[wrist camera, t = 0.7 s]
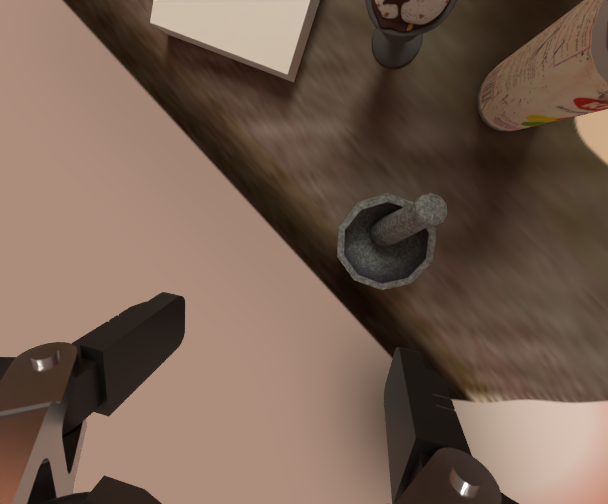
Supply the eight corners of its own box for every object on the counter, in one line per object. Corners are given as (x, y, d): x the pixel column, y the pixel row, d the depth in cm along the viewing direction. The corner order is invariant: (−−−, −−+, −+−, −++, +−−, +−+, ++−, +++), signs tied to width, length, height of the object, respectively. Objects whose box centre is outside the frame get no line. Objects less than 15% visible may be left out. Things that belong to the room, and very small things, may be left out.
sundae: (429, 73, 30) (487, -8, 16) (362, 79, 32) (363, 8, 17) (435, -3, 29) (507, -170, 14) (364, 6, 30) (367, -139, 16)
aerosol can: (484, 142, 31) (673, 103, 12) (470, 74, 30) (658, -85, 11) (558, 116, 29) (915, 24, 10) (547, 43, 28) (933, -214, 9)
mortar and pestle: (384, 282, 37) (394, 332, 26) (325, 238, 37) (310, 269, 26) (449, 212, 34) (493, 235, 22) (384, 162, 34) (395, 160, 22)
